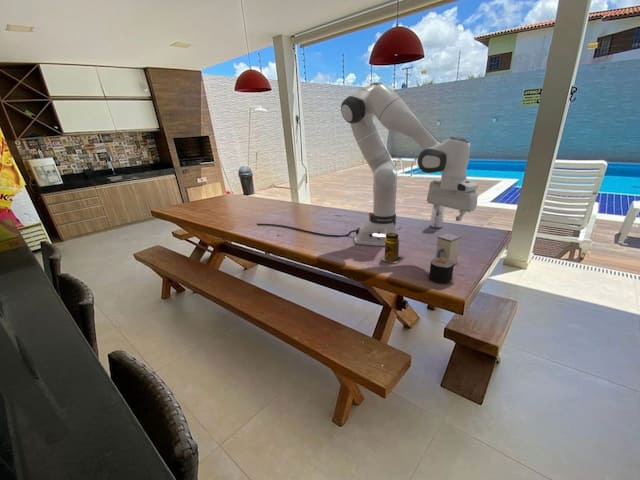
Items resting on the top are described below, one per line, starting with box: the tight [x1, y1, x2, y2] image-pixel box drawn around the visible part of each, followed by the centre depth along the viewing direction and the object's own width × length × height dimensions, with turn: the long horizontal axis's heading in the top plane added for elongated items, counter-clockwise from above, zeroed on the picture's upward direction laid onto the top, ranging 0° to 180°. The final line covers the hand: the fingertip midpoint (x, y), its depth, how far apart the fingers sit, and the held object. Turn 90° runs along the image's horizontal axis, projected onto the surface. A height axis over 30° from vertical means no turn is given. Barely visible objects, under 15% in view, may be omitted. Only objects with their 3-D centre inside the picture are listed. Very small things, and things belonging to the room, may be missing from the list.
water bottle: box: [429, 204, 446, 229], centre depth 171 cm, size 7×7×25 cm
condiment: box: [380, 232, 404, 264], centre depth 137 cm, size 7×8×12 cm
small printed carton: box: [435, 232, 461, 265], centre depth 130 cm, size 12×6×10 cm
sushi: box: [428, 257, 455, 285], centre depth 119 cm, size 8×8×8 cm
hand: (448, 218), depth 123 cm, fingers open, 8 cm apart
